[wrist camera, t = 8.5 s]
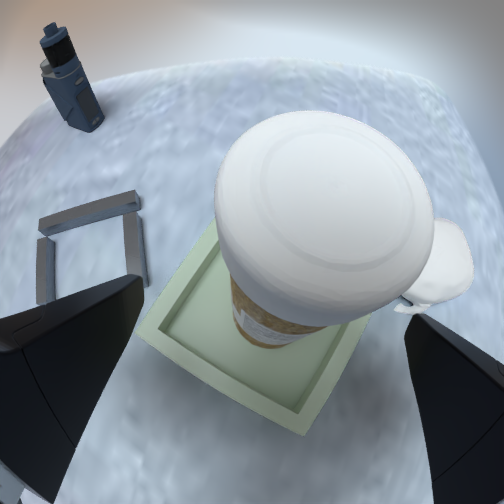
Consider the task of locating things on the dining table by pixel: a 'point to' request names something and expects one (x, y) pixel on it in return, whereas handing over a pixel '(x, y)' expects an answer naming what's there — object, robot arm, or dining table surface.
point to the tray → (243, 344)
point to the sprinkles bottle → (317, 224)
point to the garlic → (442, 270)
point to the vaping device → (68, 81)
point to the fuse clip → (82, 217)
